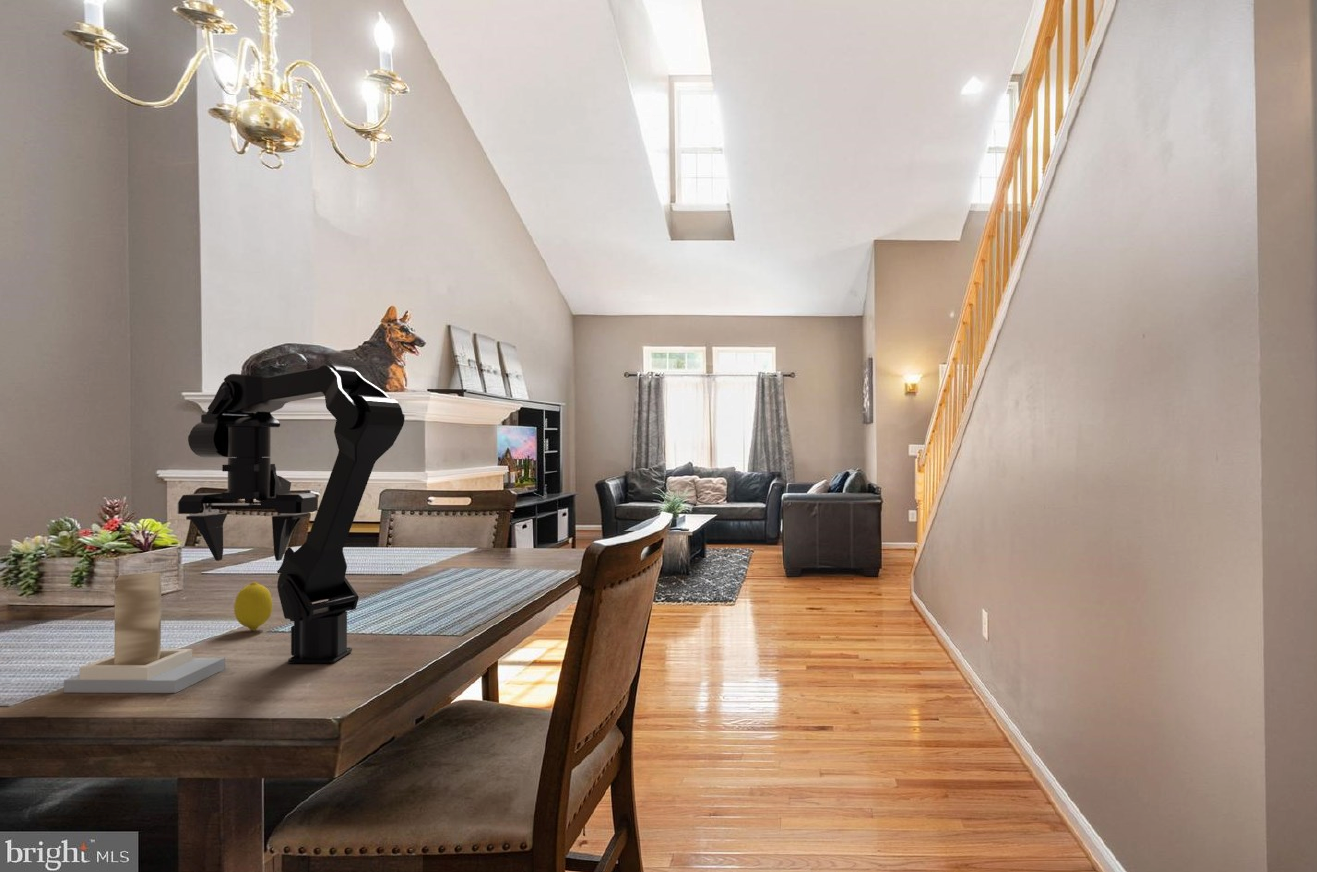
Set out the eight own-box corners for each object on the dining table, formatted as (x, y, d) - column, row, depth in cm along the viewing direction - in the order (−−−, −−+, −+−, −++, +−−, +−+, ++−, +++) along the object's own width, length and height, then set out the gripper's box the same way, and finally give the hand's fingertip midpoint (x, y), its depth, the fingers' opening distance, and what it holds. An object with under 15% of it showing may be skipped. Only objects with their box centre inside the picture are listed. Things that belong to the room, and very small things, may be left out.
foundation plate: (225, 668, 101) (225, 646, 101) (175, 692, 91) (175, 668, 91) (124, 668, 102) (124, 646, 102) (63, 692, 92) (64, 667, 92)
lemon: (230, 630, 123) (230, 581, 123) (267, 625, 127) (267, 577, 127) (239, 636, 119) (239, 586, 119) (276, 630, 123) (276, 582, 123)
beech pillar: (160, 662, 99) (161, 572, 99) (157, 671, 95) (158, 577, 96) (119, 667, 97) (119, 575, 97) (114, 676, 93) (115, 580, 93)
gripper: (334, 456, 121) (333, 553, 121) (221, 457, 122) (220, 553, 122) (299, 457, 110) (299, 563, 110) (175, 458, 111) (174, 563, 110)
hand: (248, 560), depth 113 cm, fingers open, 9 cm apart
